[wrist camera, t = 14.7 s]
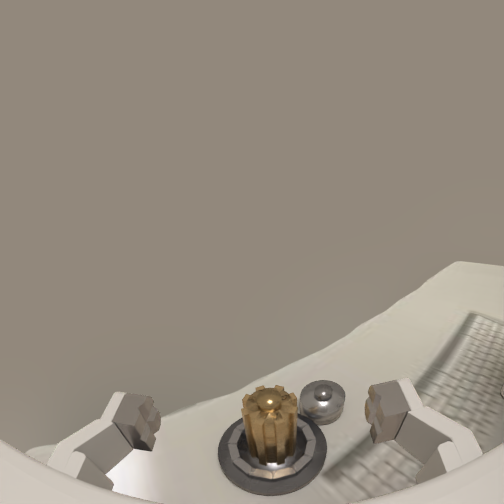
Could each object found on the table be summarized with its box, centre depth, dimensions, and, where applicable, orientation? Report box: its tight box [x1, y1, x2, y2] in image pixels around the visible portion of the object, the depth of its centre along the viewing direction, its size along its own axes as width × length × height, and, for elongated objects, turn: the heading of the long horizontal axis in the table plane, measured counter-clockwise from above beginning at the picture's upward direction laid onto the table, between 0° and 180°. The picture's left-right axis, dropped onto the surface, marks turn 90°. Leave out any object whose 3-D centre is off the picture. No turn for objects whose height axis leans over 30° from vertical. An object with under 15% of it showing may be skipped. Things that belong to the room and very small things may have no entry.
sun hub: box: [300, 380, 345, 425], centre depth 34 cm, size 6×6×4 cm
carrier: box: [218, 413, 327, 496], centre depth 28 cm, size 13×13×2 cm
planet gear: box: [241, 385, 298, 466], centre depth 26 cm, size 6×6×10 cm
